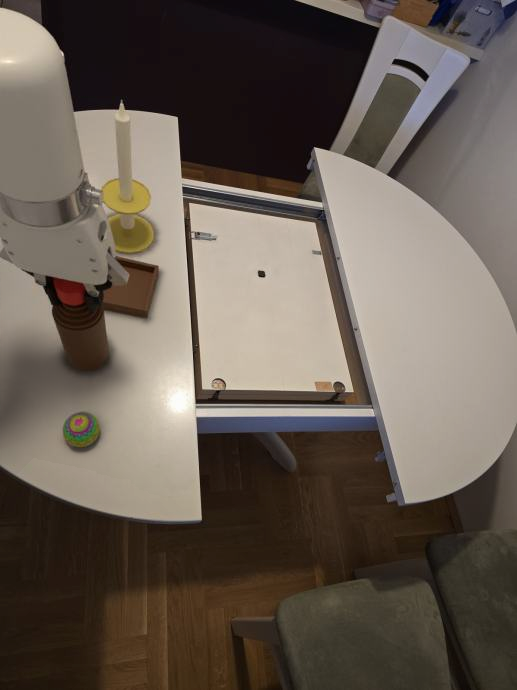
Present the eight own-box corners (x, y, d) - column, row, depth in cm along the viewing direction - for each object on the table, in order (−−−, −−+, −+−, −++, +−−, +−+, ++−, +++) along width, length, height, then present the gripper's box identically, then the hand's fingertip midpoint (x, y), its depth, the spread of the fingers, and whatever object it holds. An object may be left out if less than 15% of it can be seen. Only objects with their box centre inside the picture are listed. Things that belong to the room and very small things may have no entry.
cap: (95, 283, 50) (93, 271, 48) (86, 308, 48) (83, 296, 46) (63, 276, 49) (59, 263, 47) (52, 301, 47) (48, 288, 45)
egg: (68, 417, 59) (61, 405, 54) (102, 417, 60) (98, 405, 55) (63, 450, 57) (55, 440, 52) (99, 449, 58) (95, 440, 53)
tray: (69, 302, 68) (67, 294, 66) (87, 257, 72) (85, 248, 70) (146, 317, 70) (146, 311, 68) (158, 273, 75) (158, 265, 73)
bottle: (61, 367, 62) (33, 297, 45) (73, 332, 65) (52, 255, 48) (102, 374, 63) (91, 310, 46) (113, 340, 67) (106, 268, 49)
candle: (112, 208, 79) (99, 68, 56) (160, 224, 80) (167, 94, 57) (92, 243, 74) (69, 106, 51) (144, 260, 75) (144, 133, 52)
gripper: (147, 183, 38) (149, 290, 53) (-42, 135, 35) (19, 263, 51) (127, 241, 34) (135, 337, 50) (-84, 192, 31) (-5, 311, 47)
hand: (76, 299), depth 50 cm, fingers closed on cap, 3 cm apart
